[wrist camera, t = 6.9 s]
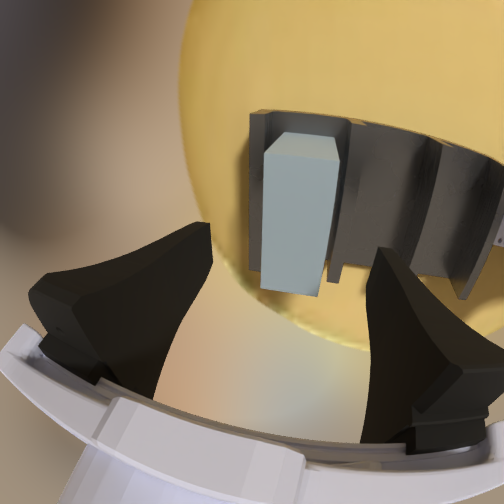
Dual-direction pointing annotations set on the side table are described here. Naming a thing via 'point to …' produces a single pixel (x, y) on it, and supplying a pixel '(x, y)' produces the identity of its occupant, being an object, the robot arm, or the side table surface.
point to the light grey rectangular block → (297, 211)
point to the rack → (392, 196)
